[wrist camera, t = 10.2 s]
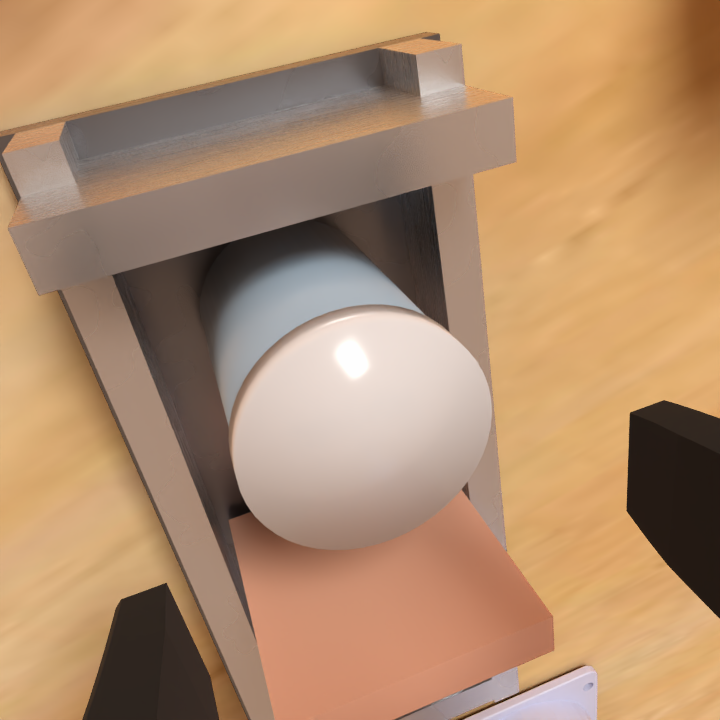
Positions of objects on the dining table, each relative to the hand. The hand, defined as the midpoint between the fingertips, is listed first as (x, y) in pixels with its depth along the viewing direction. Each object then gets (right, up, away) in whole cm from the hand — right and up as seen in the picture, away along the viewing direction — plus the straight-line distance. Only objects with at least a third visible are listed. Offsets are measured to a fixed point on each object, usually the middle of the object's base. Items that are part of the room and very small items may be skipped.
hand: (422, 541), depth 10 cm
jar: (-3, +4, +8) cm, 9 cm away
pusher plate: (-2, -1, +11) cm, 11 cm away
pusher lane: (-2, 0, +11) cm, 11 cm away
